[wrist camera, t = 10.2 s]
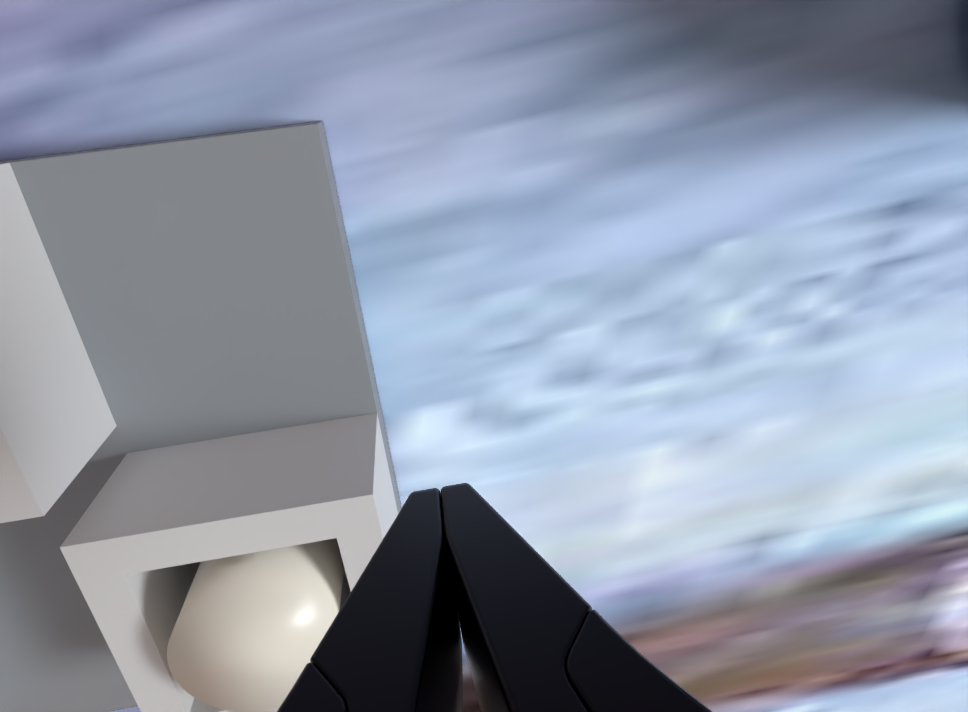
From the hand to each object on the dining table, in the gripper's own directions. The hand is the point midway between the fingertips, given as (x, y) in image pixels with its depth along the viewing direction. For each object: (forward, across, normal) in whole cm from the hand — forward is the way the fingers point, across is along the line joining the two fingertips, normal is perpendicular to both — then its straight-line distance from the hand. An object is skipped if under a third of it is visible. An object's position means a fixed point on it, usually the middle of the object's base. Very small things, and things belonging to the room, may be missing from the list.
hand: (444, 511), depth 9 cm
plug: (+11, +6, +8) cm, 15 cm away
